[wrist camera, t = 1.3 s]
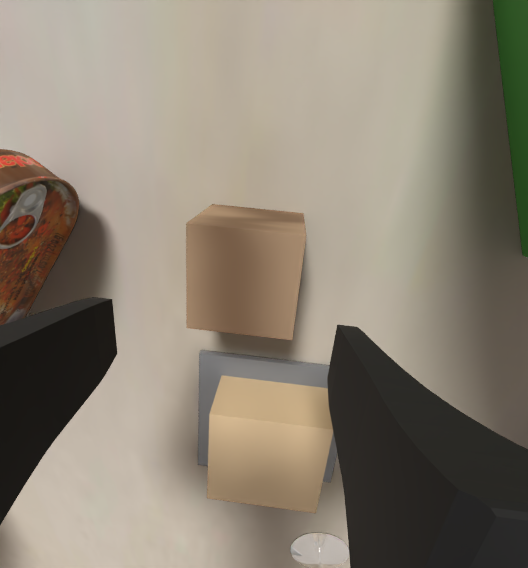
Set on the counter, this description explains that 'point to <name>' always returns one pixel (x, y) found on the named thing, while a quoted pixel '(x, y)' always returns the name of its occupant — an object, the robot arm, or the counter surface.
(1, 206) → the tin
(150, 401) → the counter surface
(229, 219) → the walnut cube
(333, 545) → the wineglass
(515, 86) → the hardback book
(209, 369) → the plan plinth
